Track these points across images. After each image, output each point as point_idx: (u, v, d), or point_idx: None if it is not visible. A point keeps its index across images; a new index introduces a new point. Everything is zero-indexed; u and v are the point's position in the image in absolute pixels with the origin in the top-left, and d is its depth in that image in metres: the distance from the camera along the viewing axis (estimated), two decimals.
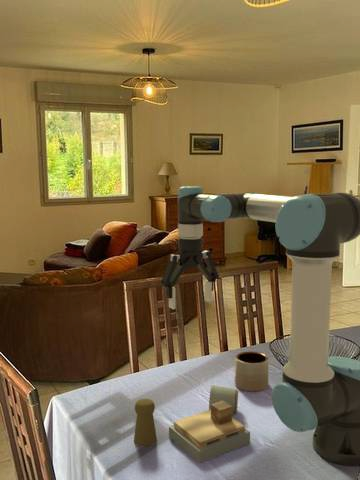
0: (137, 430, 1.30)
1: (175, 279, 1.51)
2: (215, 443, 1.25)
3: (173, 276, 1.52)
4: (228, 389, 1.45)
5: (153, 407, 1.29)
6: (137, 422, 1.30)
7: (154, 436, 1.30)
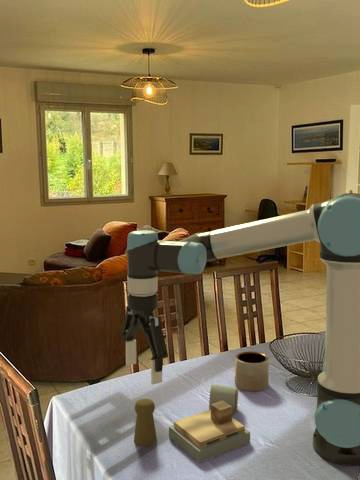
0: (137, 430, 1.30)
1: (127, 333, 1.32)
2: (215, 443, 1.25)
3: None
4: (228, 388, 1.46)
5: (153, 407, 1.29)
6: (137, 422, 1.30)
7: (154, 436, 1.30)
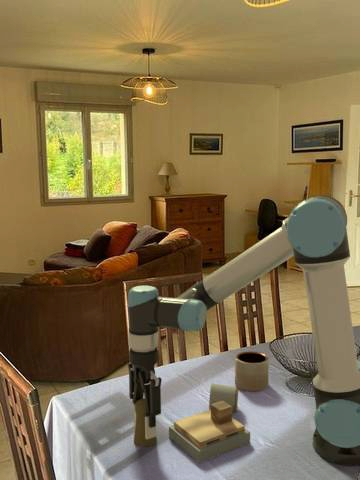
0: (137, 430, 1.30)
1: (134, 394, 1.32)
2: (215, 443, 1.25)
3: None
4: (228, 387, 1.46)
5: None
6: (137, 422, 1.30)
7: None
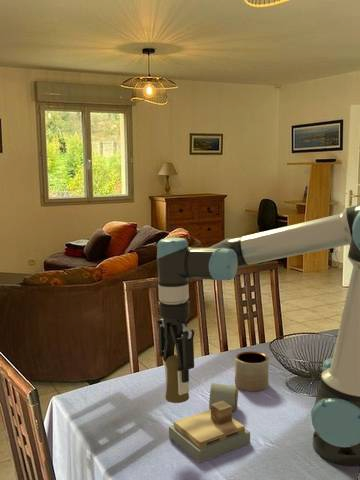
0: (169, 386, 1.26)
1: (165, 350, 1.29)
2: (215, 443, 1.25)
3: None
4: (228, 387, 1.47)
5: None
6: (169, 378, 1.27)
7: None
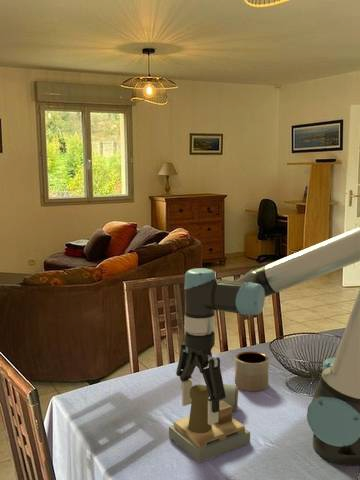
0: (192, 416, 1.27)
1: (183, 372, 1.31)
2: (215, 443, 1.25)
3: None
4: (228, 386, 1.47)
5: None
6: (192, 408, 1.27)
7: None
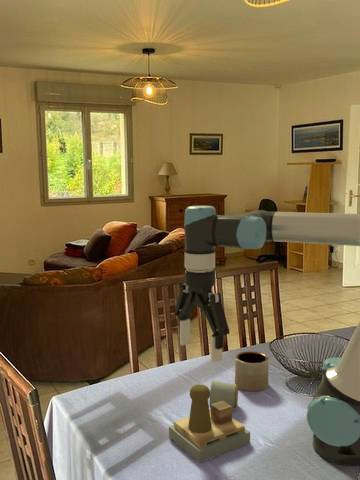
0: (192, 416, 1.27)
1: (182, 311, 1.30)
2: (215, 443, 1.25)
3: None
4: (228, 385, 1.48)
5: (209, 393, 1.27)
6: (192, 408, 1.27)
7: (209, 422, 1.28)
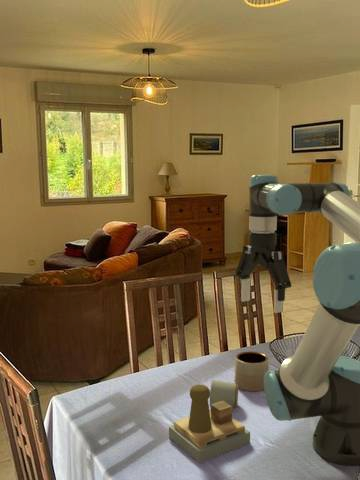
0: (192, 416, 1.27)
1: (244, 271, 1.45)
2: (215, 443, 1.25)
3: None
4: (228, 384, 1.48)
5: (209, 393, 1.27)
6: (192, 408, 1.27)
7: (209, 422, 1.28)
